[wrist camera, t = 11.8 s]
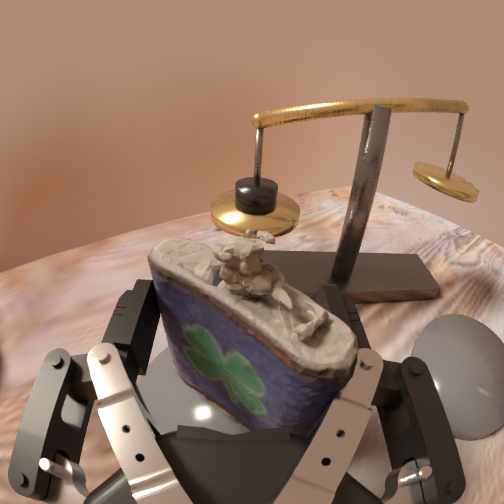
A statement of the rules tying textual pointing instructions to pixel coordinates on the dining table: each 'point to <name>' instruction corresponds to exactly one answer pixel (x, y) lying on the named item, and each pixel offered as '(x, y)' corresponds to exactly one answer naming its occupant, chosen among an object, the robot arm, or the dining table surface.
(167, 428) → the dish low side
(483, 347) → the gray domed disc
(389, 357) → the dining table surface
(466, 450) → the dining table surface
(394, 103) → the balance
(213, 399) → the flask
